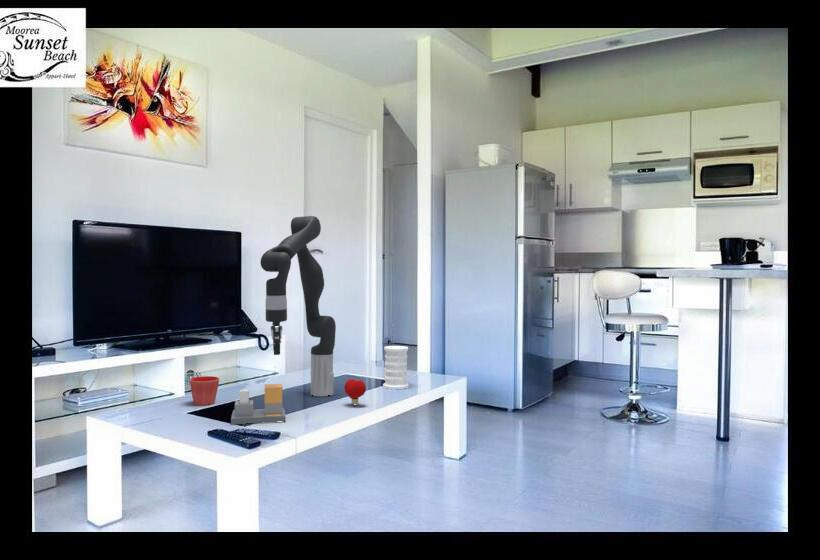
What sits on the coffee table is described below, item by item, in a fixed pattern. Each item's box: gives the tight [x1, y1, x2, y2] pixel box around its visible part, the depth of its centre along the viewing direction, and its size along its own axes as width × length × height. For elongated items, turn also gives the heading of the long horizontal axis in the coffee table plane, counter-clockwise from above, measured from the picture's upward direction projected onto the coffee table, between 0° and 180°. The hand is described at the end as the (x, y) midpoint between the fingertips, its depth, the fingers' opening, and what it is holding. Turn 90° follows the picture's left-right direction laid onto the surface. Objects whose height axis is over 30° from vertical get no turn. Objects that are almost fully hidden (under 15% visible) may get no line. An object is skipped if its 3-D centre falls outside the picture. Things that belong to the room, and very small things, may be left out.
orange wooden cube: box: [264, 383, 283, 404], centre depth 209 cm, size 6×6×6 cm
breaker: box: [238, 389, 250, 404], centre depth 206 cm, size 3×3×6 cm
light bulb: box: [344, 378, 367, 405], centre depth 229 cm, size 9×7×10 cm
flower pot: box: [189, 375, 220, 406], centre depth 230 cm, size 11×11×10 cm
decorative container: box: [382, 345, 409, 388], centre depth 266 cm, size 12×12×18 cm
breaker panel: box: [230, 399, 286, 425], centre depth 208 cm, size 18×12×6 cm, turn 103°
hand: (276, 352), depth 212 cm, fingers open, 8 cm apart
